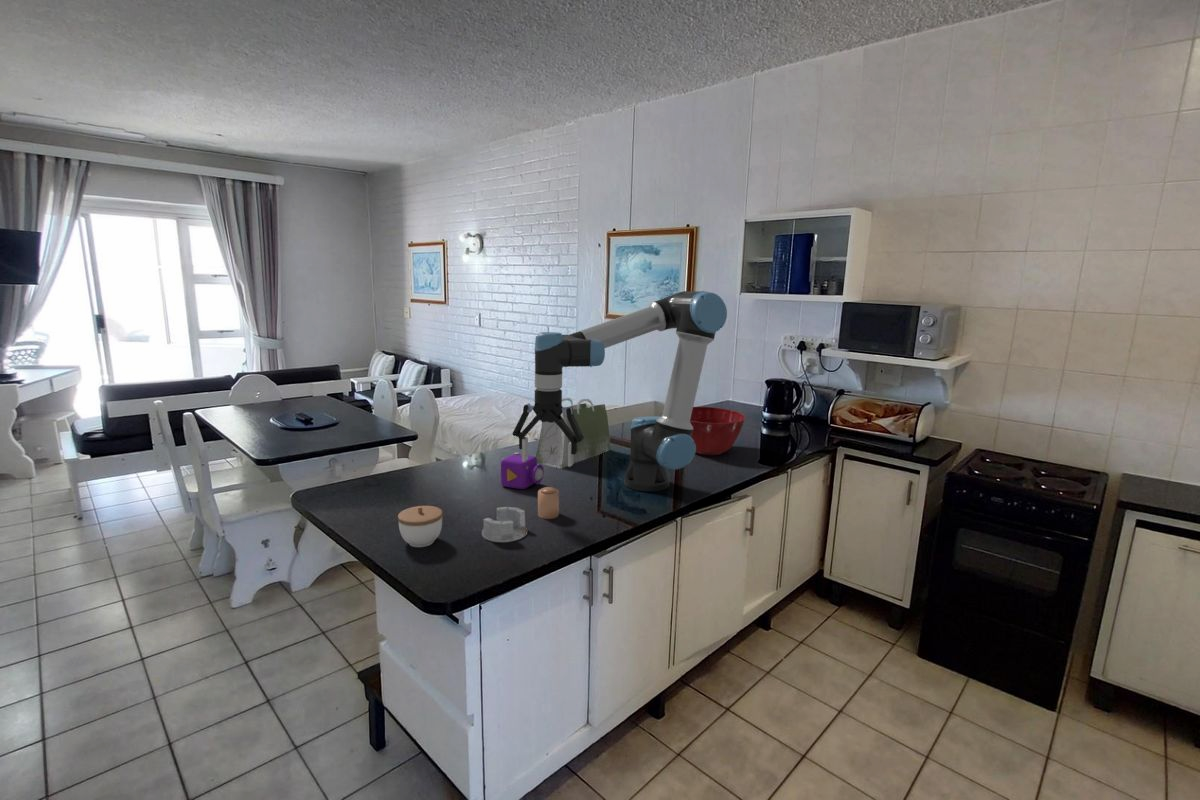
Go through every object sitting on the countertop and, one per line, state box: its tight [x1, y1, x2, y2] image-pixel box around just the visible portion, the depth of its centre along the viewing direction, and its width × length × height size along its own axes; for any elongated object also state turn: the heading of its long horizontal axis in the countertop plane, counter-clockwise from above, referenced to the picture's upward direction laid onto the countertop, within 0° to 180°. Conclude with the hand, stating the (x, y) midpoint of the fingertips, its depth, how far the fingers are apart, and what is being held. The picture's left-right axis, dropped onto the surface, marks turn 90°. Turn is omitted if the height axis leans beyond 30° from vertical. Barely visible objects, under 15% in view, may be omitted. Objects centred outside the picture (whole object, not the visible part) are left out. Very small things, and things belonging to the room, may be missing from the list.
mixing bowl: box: [690, 406, 746, 456], centre depth 229 cm, size 28×28×16 cm
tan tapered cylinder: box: [537, 486, 560, 520], centre depth 162 cm, size 6×6×8 cm
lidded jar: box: [397, 505, 444, 548], centre depth 143 cm, size 11×11×9 cm
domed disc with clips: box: [481, 506, 528, 544], centre depth 149 cm, size 12×12×5 cm
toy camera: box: [500, 451, 545, 490], centre depth 185 cm, size 11×14×10 cm
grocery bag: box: [535, 397, 611, 470], centre depth 218 cm, size 32×14×23 cm, turn 145°
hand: (547, 462), depth 159 cm, fingers open, 13 cm apart
